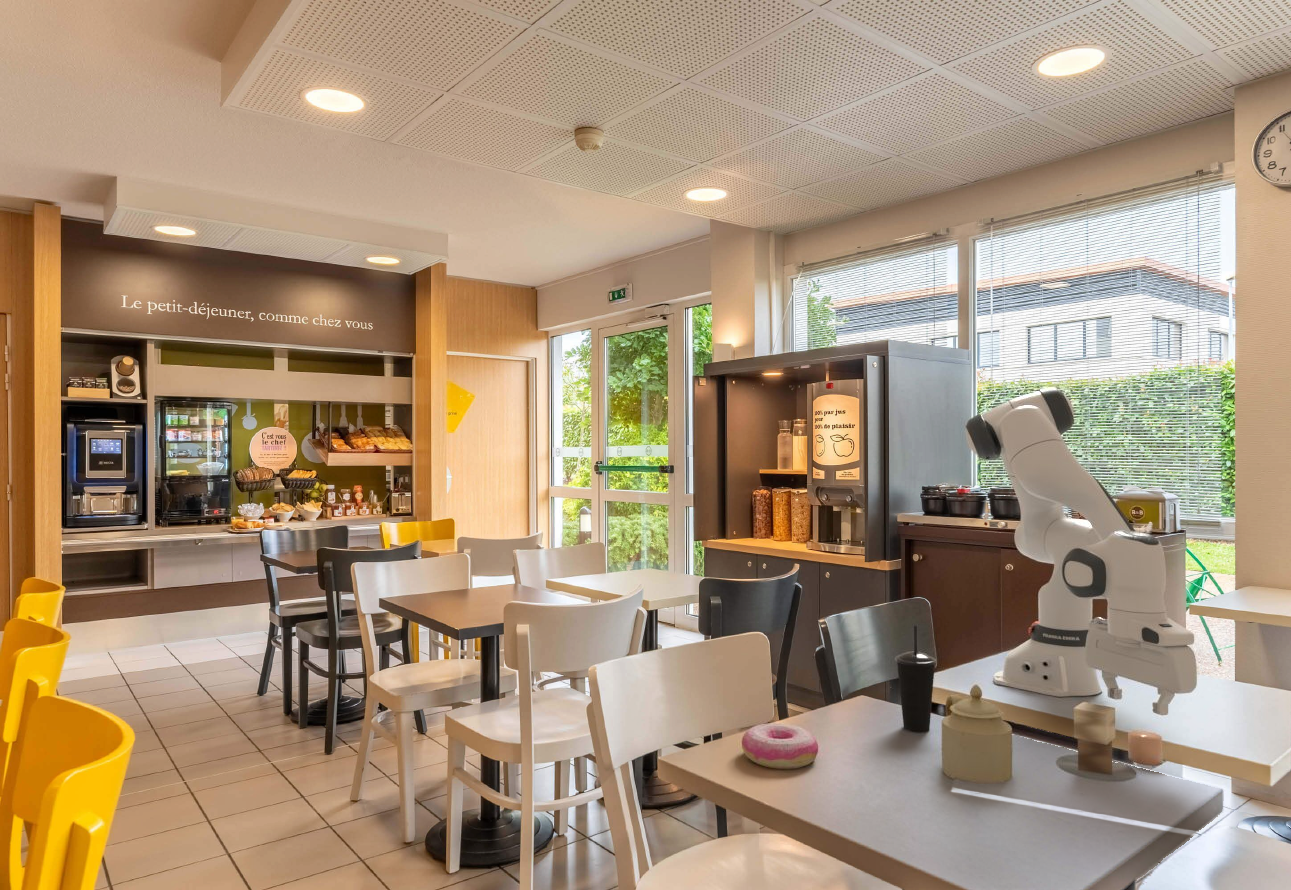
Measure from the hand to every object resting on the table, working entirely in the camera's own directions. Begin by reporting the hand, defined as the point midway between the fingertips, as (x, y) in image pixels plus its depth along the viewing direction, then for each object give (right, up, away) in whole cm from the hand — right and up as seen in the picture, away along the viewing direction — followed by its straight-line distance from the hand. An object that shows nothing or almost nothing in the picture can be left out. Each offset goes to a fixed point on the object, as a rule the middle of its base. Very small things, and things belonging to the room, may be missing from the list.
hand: (1136, 705), depth 143 cm
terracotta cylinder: (+1, -10, 0) cm, 10 cm away
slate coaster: (-9, -10, -3) cm, 14 cm away
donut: (-61, -11, +3) cm, 62 cm away
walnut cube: (-9, -9, -3) cm, 13 cm away
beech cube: (-9, -4, -3) cm, 11 cm away
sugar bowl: (-30, -10, -3) cm, 32 cm away
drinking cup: (-32, -11, +19) cm, 39 cm away
